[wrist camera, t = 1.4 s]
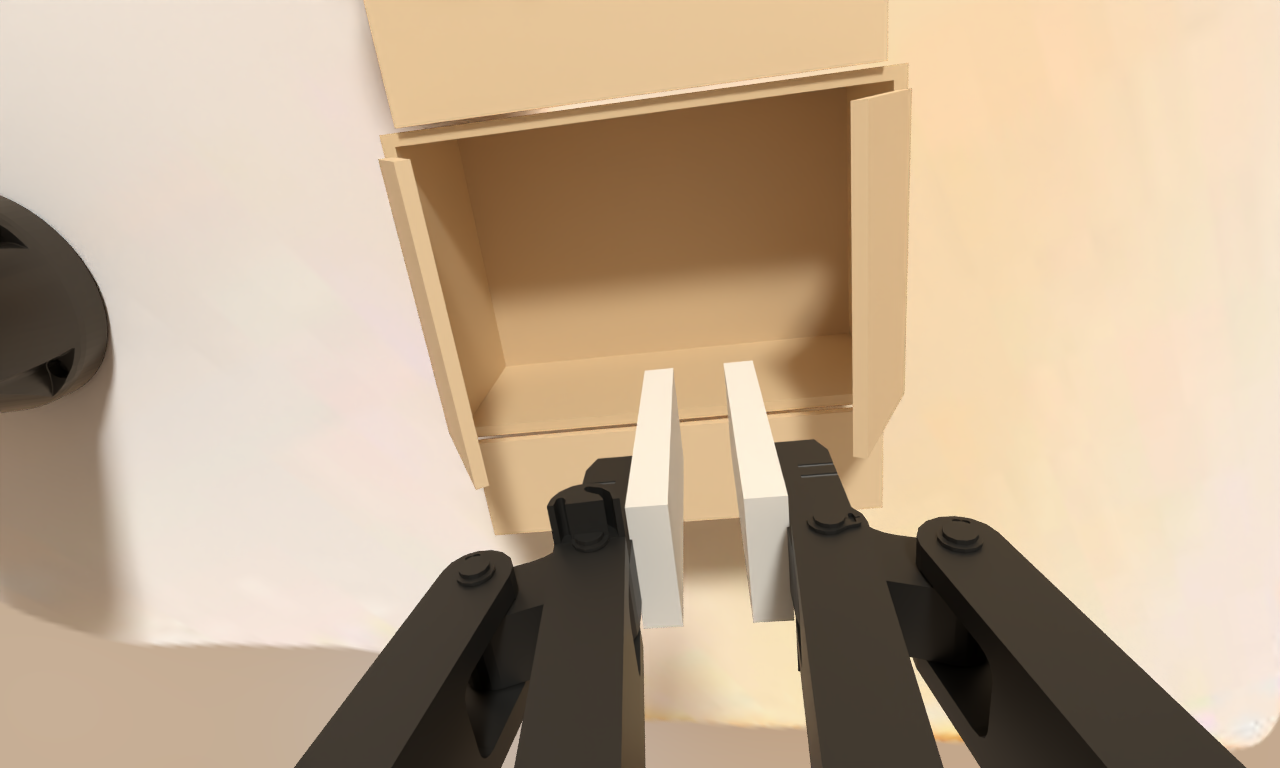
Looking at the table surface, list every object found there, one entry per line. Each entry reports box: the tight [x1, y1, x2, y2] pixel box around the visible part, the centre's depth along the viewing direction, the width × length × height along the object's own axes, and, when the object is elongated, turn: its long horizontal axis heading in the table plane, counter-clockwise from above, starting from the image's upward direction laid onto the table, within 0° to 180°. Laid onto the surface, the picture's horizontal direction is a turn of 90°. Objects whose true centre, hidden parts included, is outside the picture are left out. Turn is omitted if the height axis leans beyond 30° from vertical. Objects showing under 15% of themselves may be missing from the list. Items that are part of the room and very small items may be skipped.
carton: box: [363, 0, 909, 535], centre depth 38 cm, size 24×28×10 cm
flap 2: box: [851, 88, 912, 459], centre depth 29 cm, size 1×14×7 cm, turn 6°
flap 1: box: [378, 157, 489, 490], centre depth 31 cm, size 1×14×7 cm, turn 9°
